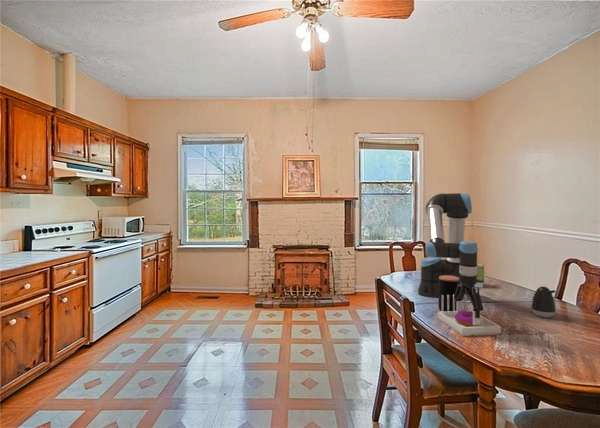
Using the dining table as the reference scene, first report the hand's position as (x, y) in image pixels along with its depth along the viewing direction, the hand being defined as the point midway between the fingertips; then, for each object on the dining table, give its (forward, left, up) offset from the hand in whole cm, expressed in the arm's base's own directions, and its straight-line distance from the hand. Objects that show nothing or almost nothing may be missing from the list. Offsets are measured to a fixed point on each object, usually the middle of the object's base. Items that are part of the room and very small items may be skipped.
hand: (467, 319), depth 161 cm
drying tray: (0, 0, -3) cm, 3 cm away
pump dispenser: (-9, +46, -3) cm, 47 cm away
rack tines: (-12, 0, -3) cm, 12 cm away
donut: (0, 0, -2) cm, 2 cm away
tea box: (-72, +46, -4) cm, 86 cm away
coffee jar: (-22, +3, -3) cm, 22 cm away
